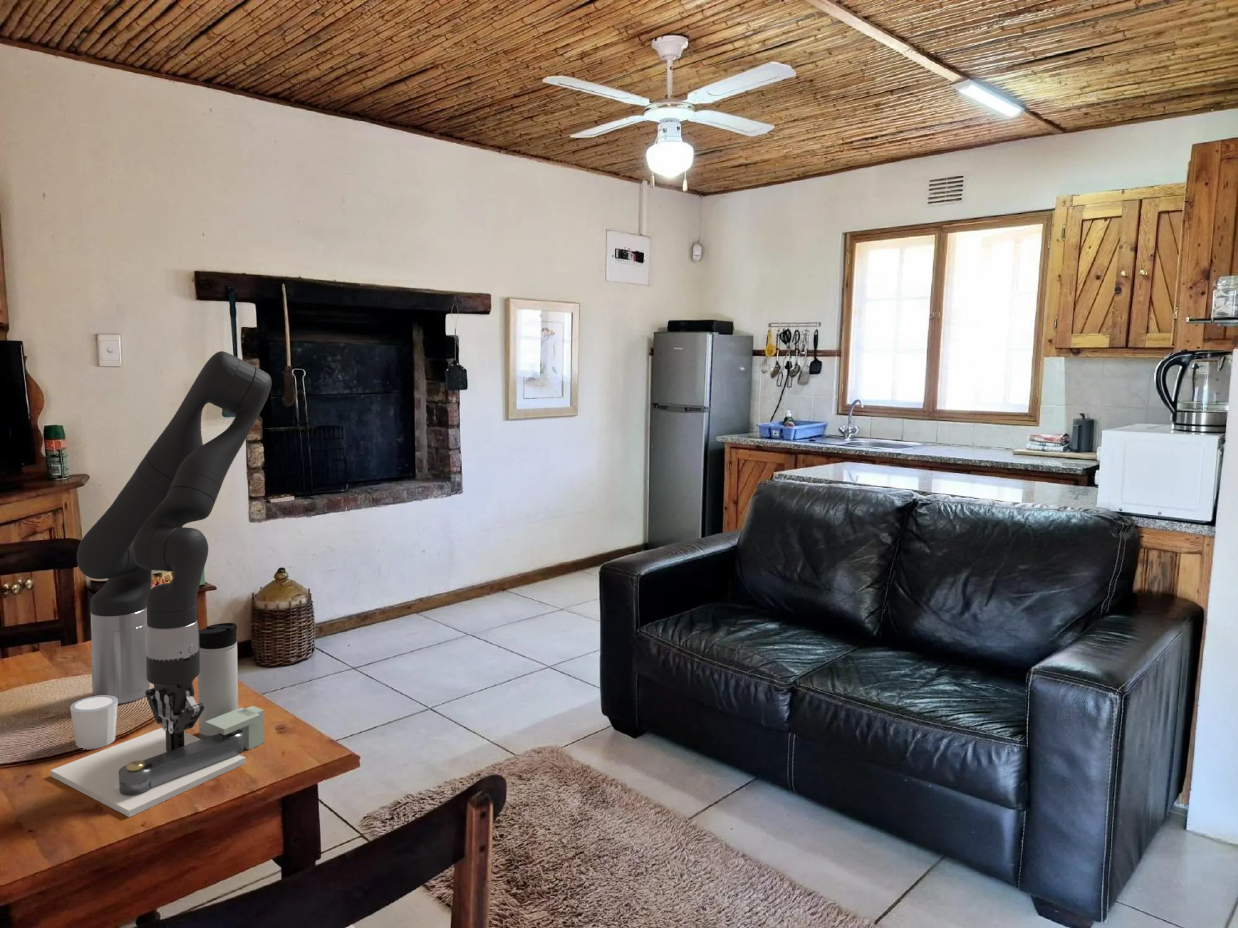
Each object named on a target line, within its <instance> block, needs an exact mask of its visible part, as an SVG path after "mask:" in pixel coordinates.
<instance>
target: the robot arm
mask: <svg viewBox="0 0 1238 928" xmlns="http://www.w3.org/2000/svg"><path fill="white" fill-rule="evenodd" d="M272 385H273V384H272V378H271V375H270V374H269V373H268V372H266V371H264V370H262V369H260V368H258V367H256V366H255V365H253V364H251V363H249V362H247V361H245V360H243V359H241V358H239V357H237V356H235V355H233V354H231V353H229V352H227V351H223V350H222V351H217V352H216V353H214V354H213V355H212V356H210V358H208V360H207V362H206V363H205V364H204V366H203V367H202V369H201V370H200V372H199V373H198V374H197V377H196V378H195V380H194V382H193V384H192V385H191V387H190V389H189V390H188V392H187V394H186V396H185V397H184V399H183V400H182V402H181V404H180V405H179V408H178V409H177V411H176V412H175V413H174V416H173V417H172V418H171V420H170V421H169V422H168V424H167V425H166V427H165V428H164V430H163V431H162V432H161V434H160V435H159V437H158V438H156V441H155V442H153V444H152V446H151V447H150V449H148V451H147V453H146V454H145V455H144V457H143V458H142V460H141V461H140V462H139V464H138V466H137V467H136V469H135V471H134V472H133V474H132V475H131V477H130V478H129V480H128V481H127V483H126V484H125V485H124V487H123V488H122V490H121V491H120V492H119V493H118V495H117V496H116V498H115V500H113V502H112V504H111V505H110V506H109V508H108V509H107V510H106V511H105V512H104V513H103V514H102V516H101V517H100V518H99V519H98V520H97V521H96V523H94V525H92V527H91V528H90V529H89V530H88V531H87V532H86V533H85V535H84V536H83V537H82V539H81V540H80V542H79V545H78V547H77V551H76V563H77V566H78V569H79V570H80V572H81V573H82V574H83V575H84V576H85V577H88V578H90V579H94V580H104V579H107V581H106V582H105V583H104V585H103V586H102V587H101V588H100V589H99V590H98V591H97V592H96V593H94V594H93V596H91V598H90V603H89V605H90V607H89V608H90V610H89V611H90V628H91V630H90V631H91V648H90V659H91V660H90V661H91V681H92V682H91V684H92V695H93V694H94V695H93V696H99V695H109V696H114V697H116V698H118V705H119V704H126V703H130V702H133V701H137V700H140V699H142V698H144V697H146V699H147V702H148V705H149V707H150V709H151V712H152V714H153V717H154V720H155V721H156V724H157V725H160V724H161V725H162V727H163V730H164V731H166V751H167V752H168V751H171V750H174V749H176V748H179V747H182V746H184V732H185V731H186V730H189V729H192V728H194V727H195V725H196V722H198V721H199V717H200V715H201V713H202V712H203V710H204V705H203V703H199V704H198V702H196V700H195V698H194V696H195V688H194V685H193V682H194V680H195V679H196V678H198V675H199V673H200V647H199V630H200V628H199V624H198V593H199V589H200V584H201V580H202V576H203V573H204V569H205V566H206V563H207V559H208V556H209V544H208V540H207V537H205V535H204V533H203V532H202V531H201V530H199V529H197V528H194V527H186V526H185V525H186V524H189V523H193V522H197V521H203V520H206V518H208V517H209V516H210V514H211V512H212V511H213V509H214V506H215V504H216V502H217V498H218V496H219V494H220V492H221V488H222V486H223V483H224V480H225V478H226V476H227V474H228V472H229V470H230V468H231V466H232V464H233V462H234V460H235V458H236V456H237V455H238V453H239V452H240V450H241V448H242V446H243V445H244V443H245V441H246V439H247V437H248V436H249V434H250V432H251V430H252V428H253V426H254V424H255V423H256V421H257V419H258V417H259V415H260V413H261V411H263V408H264V406H265V404H266V403H267V400H268V398H269V394H271V393H270V392H271V389H272ZM208 403H209V404H211V405H213V406H215V407H218V408H219V409H222V410H225V411H226V412H229V413H231V414H232V415H235V416H234V419H233V420H232V422H231V423H230V425H229V426H228V427H227V428H226V429H225V430H224V431H223V432H221V433H220V434H218V435H216V437H214V438H212V439H210V440H209V441H208V442H206V443H203V438H202V416H203V415H202V414H203V410H204V409H205V406H206V405H207V404H208ZM184 526H185V527H184ZM153 571H159V572H172V573H173V578H172V581H171V582H166V583H162V584H158V585H155V586H153V587H152V573H153ZM150 684H152V685H153V687H152V688H150ZM162 727H161V728H162Z"/></svg>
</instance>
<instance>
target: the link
mask: <svg viewBox="0 0 1238 928" xmlns="http://www.w3.org/2000/svg"><path fill="white" fill-rule="evenodd" d="M243 751H244V747H243V731H242V730H239V729H238V730H236V731H233V732H231V733H228V734H226V735H223V734H220V733H219V734H216V735H213V736H210V737H207V738H205V739H202V740H199V741H196V742H193V743H190V744H188V745H185V746H182V747H179V748H176V749H174V750H171V751H168V752H165V753H162V754H160V755H157V756H154V757H151V758H148V759H146V760H143V761H141V760H138V761H133V762H130V763H128V764H127V765H125V766H123V767H122V768H121V769H120V770H119V792H120V793H121V794H123V795H135V794H140V793H143V792H145V791H147V790H149V789H150V788H152V787H154V786H157V785H159V784H162V783H165V782H167V781H170V780H172V779H175V778H178V777H180V776H183V775H185V774H188V773H191V772H193V771H196V770H198V769H201V768H204V767H206V766H209V765H211V764H214V763H216V762H219V761H222V760H224V759H227V758H229V757H232V756H235V755H237V754H238V755H240V754H241V753H243Z"/></svg>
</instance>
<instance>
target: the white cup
mask: <svg viewBox="0 0 1238 928" xmlns="http://www.w3.org/2000/svg"><path fill="white" fill-rule="evenodd" d="M118 705H119V704H118V698H116V697H114V696H109V695H99V696H94V695H93V696H88V697H85V698H82V699H79V700H77V701H75V702H73V703H72V704H71V705H70V709H69V710H70V714H71V721H72V722H71V723H72V727H73V734H74V740H75V746H78V747H79V748H83V749H82V750H85V749H86V750H94V749H100V748H103V747H106V746H108V745H111V744H112V743H113V742H115V740H116V731H117V730H116V729H117V715H118ZM78 747H77V748H78ZM79 748H78V749H79Z"/></svg>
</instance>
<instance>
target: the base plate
mask: <svg viewBox="0 0 1238 928" xmlns="http://www.w3.org/2000/svg"><path fill="white" fill-rule="evenodd" d="M199 740H202V739H201V738H200V737H197V736H195V735H193V734H190V733H187V732H185V731H184V746H185V745H188V744H190V743H193V742H196V741H199ZM165 752H167V751H166V731H164V730H163V727H160V728H158V729H154V730H152V731H149V732H146V733H145V734H144V733H143V734H141V735H139V736H136V737H133V738H131V739H129V740H125V741H124V742H123V741H122V742H121V743H118V744H115V745H113V746H110V747H108V748H105V749H102V750H100V751H97V752H95V753H92V754H90V755H86V756H84V757H81V758H79V759H76V760H73V761H71V762H69V763H66V764H63V765H60V766H58V767H56V768H53V769H50V777H51V778H53V779H55V780H57V781H59V782H61V783H63V784H65V785H66V786H69V787H71V788H72V789H75V790H76V791H78V792H80V793H82V794H84V795H86V796H88V797H90V798H92V799H93V800H95V801H97V802H99V803H101V804H103V805H105V806H107V807H109V808H111V809H113V810H115V811H117V812H119V813H121V814H123V815H124V816H126V817H128V818H131V817H134V816H135V815H138V814H139V813H142V812H144V811H146V810H148V809H150V808H152V807H155V806H156V805H159V804H160V803H162V802H165V801H167V800H169V799H172V798H174V797H176V796H178V795H180V794H182V793H185V792H186V791H189V790H191V789H194V788H195V787H197V786H200V785H202V784H204V783H207V782H208V781H211V780H213V779H215V778H218V777H219V776H221V775H223V774H226V773H228V772H229V771H232V770H234V769H237V768H238V767H240V766H243V765H245V764H246V762H247V761H246V760H247V759H246V758H247V757H245V756H243V755H241V754H237V755H235V756H232V757H229V758H227V759H224V760H222V761H219V762H216V763H214V764H211V765H209V766H206V767H204V768H201V769H198V770H196V771H193V772H191V773H188V774H185V775H183V776H180V777H178V778H175V779H172V780H170V781H167V782H165V783H162V784H159V785H157V786H154V787H152V788H150V789H149V790H147V791H145V792H143V793H140V794H135V795H123V794H121V793H120V792H119V770H120V769H121V768H122V767H123V766H125V765H127V764H128V763H130V762H133V761H138V760H141V761H143V760H146V759H148V758H151V757H154V756H157V755H160V754H162V753H165Z"/></svg>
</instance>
